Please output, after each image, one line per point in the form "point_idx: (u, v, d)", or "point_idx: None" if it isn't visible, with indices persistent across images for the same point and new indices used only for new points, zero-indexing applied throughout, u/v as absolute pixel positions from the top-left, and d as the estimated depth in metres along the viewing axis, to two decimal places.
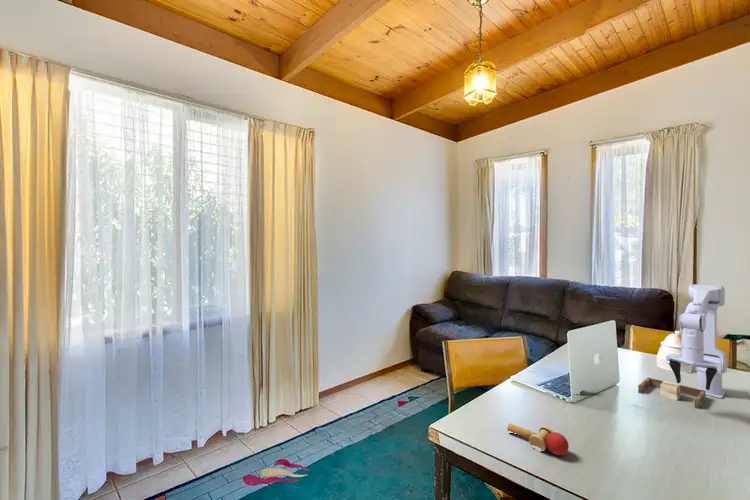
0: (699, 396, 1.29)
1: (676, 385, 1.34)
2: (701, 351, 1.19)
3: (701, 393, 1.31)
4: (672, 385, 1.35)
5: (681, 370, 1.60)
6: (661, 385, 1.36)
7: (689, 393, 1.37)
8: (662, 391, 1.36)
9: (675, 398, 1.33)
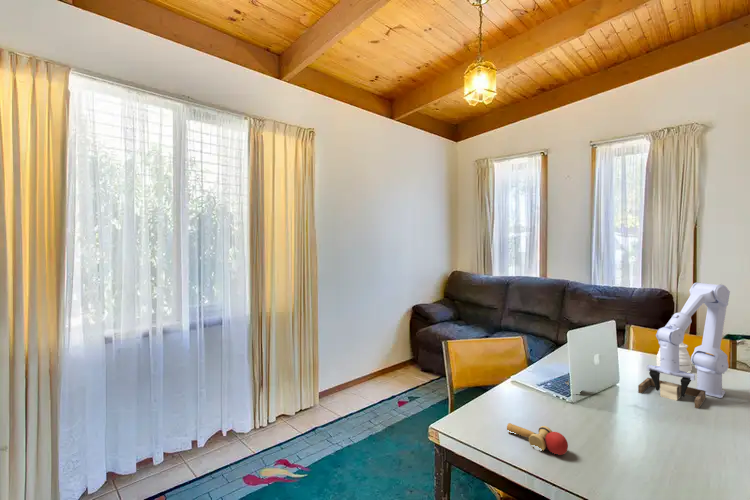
0: (699, 396, 1.29)
1: (676, 385, 1.34)
2: (677, 362, 1.33)
3: (701, 393, 1.31)
4: (672, 385, 1.35)
5: (681, 370, 1.60)
6: (661, 385, 1.36)
7: (689, 393, 1.37)
8: (662, 391, 1.36)
9: (675, 398, 1.33)
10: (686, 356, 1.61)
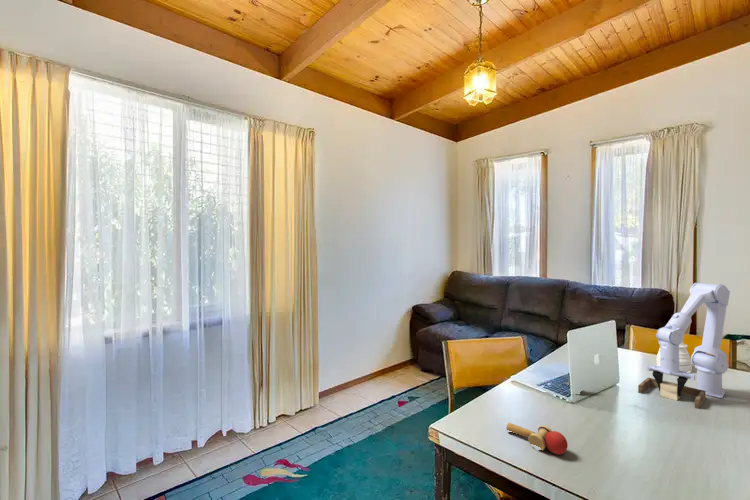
0: (699, 396, 1.29)
1: (676, 385, 1.34)
2: (677, 362, 1.33)
3: (701, 393, 1.31)
4: (672, 385, 1.35)
5: (681, 370, 1.60)
6: (661, 385, 1.36)
7: (689, 393, 1.37)
8: (662, 391, 1.36)
9: (675, 398, 1.33)
10: (686, 356, 1.61)
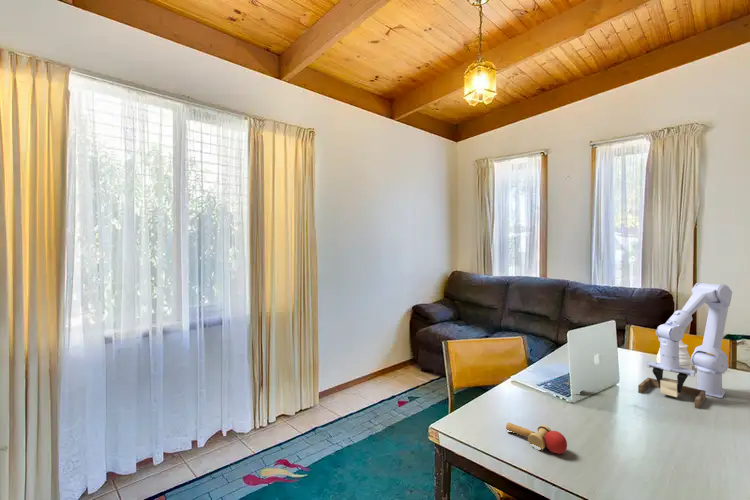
0: (699, 396, 1.29)
1: (676, 382, 1.34)
2: (677, 359, 1.33)
3: (701, 393, 1.31)
4: (672, 382, 1.35)
5: None
6: (661, 381, 1.36)
7: (689, 393, 1.37)
8: (662, 388, 1.36)
9: (675, 394, 1.33)
10: (686, 356, 1.61)
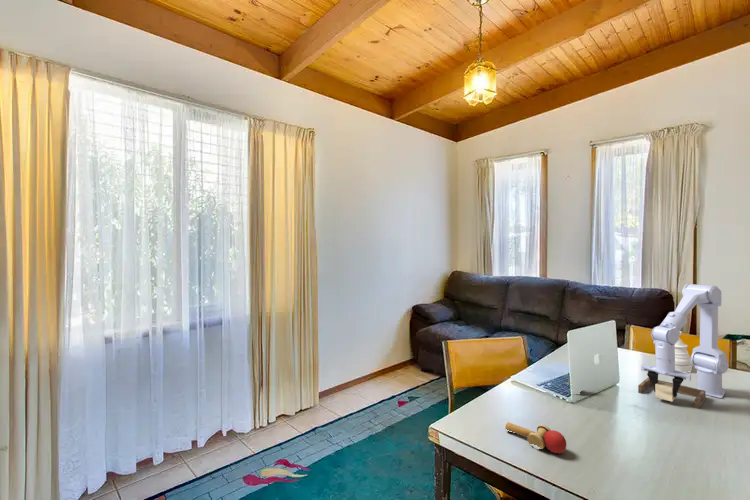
0: (699, 396, 1.29)
1: (672, 386, 1.30)
2: (672, 362, 1.29)
3: (701, 393, 1.31)
4: (668, 385, 1.30)
5: (681, 370, 1.60)
6: (656, 385, 1.32)
7: (689, 393, 1.37)
8: (657, 392, 1.32)
9: (670, 399, 1.29)
10: (686, 356, 1.61)
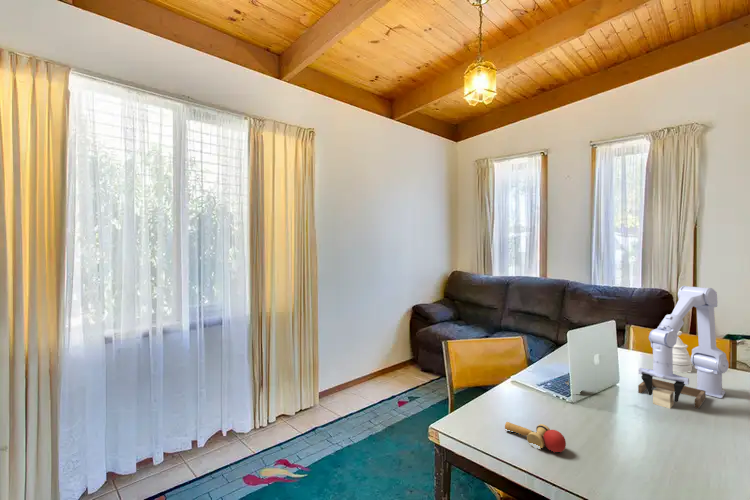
0: (699, 396, 1.29)
1: (670, 392, 1.28)
2: (670, 365, 1.27)
3: (701, 393, 1.31)
4: (666, 392, 1.28)
5: (681, 370, 1.60)
6: (654, 392, 1.30)
7: (689, 393, 1.37)
8: (655, 398, 1.30)
9: (668, 406, 1.26)
10: (686, 356, 1.61)
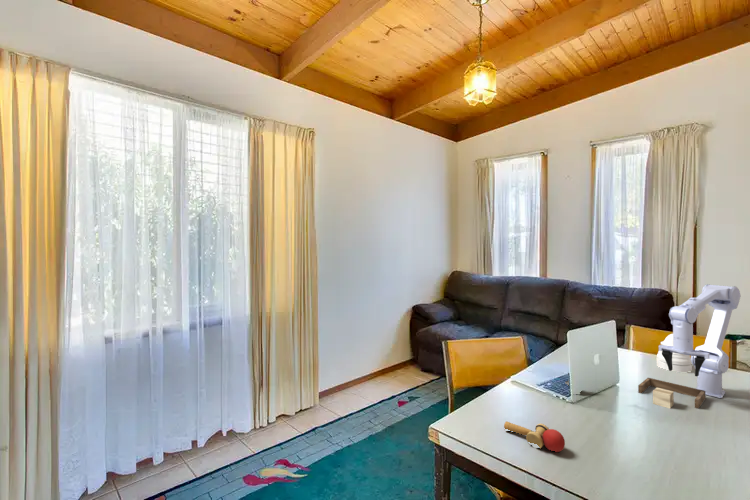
0: (699, 396, 1.29)
1: (670, 392, 1.28)
2: (690, 341, 1.30)
3: (701, 393, 1.31)
4: (666, 392, 1.28)
5: (681, 370, 1.60)
6: (654, 392, 1.30)
7: (689, 393, 1.37)
8: (654, 398, 1.30)
9: (668, 406, 1.26)
10: (686, 356, 1.61)
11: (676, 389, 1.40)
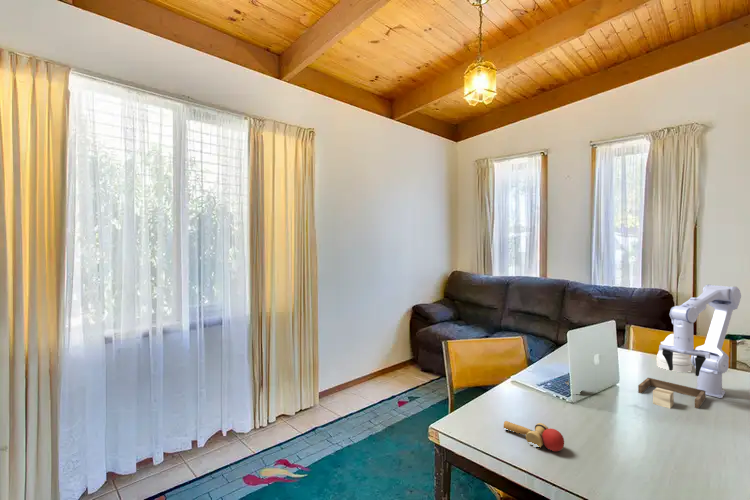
0: (699, 396, 1.29)
1: (670, 392, 1.28)
2: (691, 341, 1.30)
3: (701, 393, 1.31)
4: (666, 392, 1.28)
5: (681, 370, 1.60)
6: (654, 392, 1.30)
7: (689, 393, 1.37)
8: (654, 398, 1.30)
9: (668, 406, 1.26)
10: (686, 356, 1.61)
11: (676, 389, 1.40)
